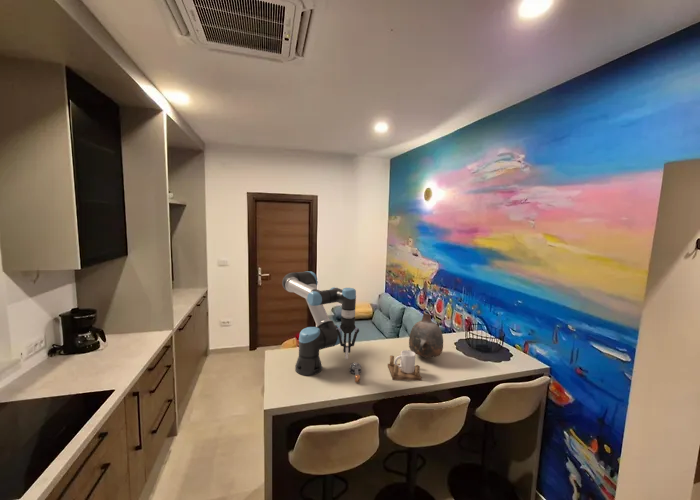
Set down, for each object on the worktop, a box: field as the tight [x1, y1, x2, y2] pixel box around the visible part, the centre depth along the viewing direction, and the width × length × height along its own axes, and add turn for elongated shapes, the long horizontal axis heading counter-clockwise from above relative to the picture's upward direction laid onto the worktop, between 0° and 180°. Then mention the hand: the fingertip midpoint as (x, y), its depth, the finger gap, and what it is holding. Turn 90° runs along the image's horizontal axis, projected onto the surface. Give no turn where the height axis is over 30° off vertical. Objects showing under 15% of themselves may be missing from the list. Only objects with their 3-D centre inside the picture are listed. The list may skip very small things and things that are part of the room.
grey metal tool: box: [349, 362, 362, 383], centre depth 170 cm, size 6×17×4 cm, turn 3°
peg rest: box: [387, 354, 422, 381], centre depth 176 cm, size 16×16×7 cm
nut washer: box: [349, 368, 362, 375], centre depth 175 cm, size 7×7×1 cm
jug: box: [408, 311, 444, 358], centre depth 197 cm, size 24×21×30 cm
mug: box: [394, 349, 416, 373], centre depth 176 cm, size 12×8×10 cm
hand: (346, 358), depth 169 cm, fingers closed
